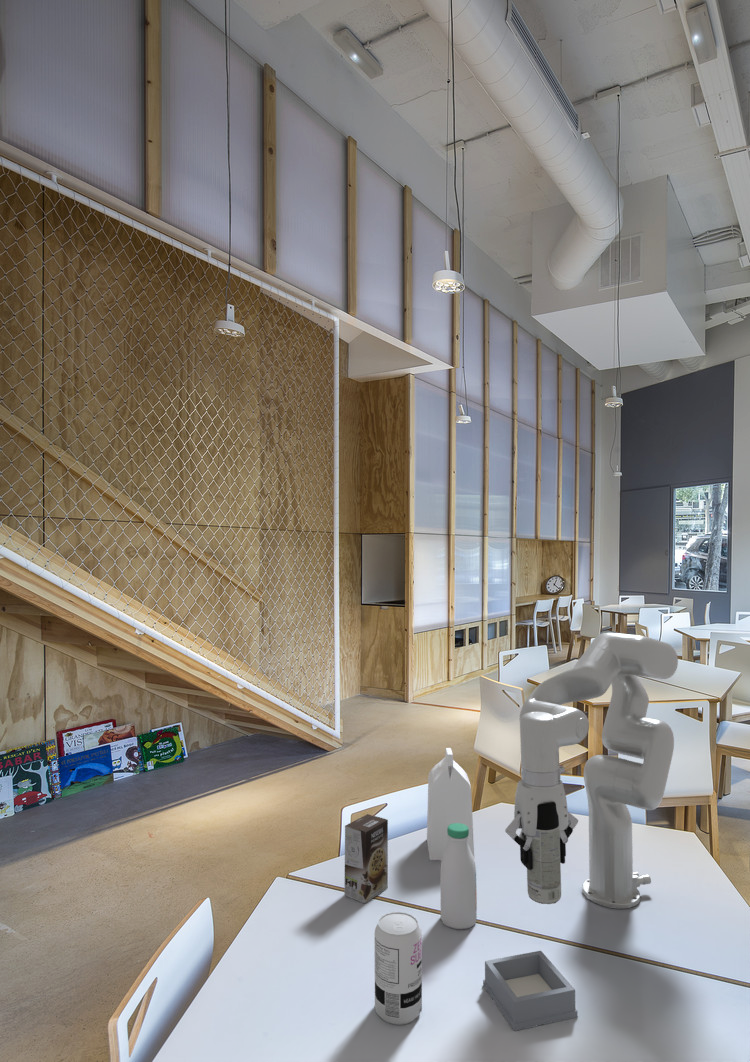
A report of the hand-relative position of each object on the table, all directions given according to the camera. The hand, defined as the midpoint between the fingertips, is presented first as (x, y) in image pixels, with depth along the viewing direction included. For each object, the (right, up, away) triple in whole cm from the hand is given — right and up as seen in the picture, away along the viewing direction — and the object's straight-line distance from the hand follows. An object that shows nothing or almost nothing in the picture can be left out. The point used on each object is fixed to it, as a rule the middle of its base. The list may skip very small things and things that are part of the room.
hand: (543, 862), depth 134 cm
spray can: (0, -7, 0) cm, 7 cm away
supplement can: (-30, -16, -19) cm, 39 cm away
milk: (-14, -18, +43) cm, 49 cm away
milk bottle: (-16, -17, +9) cm, 25 cm away
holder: (-7, -16, -16) cm, 24 cm away
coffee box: (-36, -18, +21) cm, 45 cm away
